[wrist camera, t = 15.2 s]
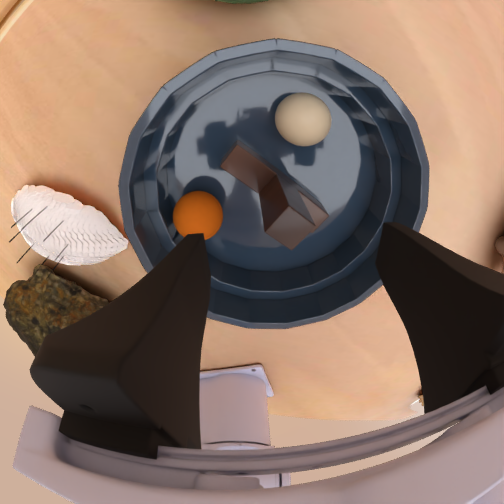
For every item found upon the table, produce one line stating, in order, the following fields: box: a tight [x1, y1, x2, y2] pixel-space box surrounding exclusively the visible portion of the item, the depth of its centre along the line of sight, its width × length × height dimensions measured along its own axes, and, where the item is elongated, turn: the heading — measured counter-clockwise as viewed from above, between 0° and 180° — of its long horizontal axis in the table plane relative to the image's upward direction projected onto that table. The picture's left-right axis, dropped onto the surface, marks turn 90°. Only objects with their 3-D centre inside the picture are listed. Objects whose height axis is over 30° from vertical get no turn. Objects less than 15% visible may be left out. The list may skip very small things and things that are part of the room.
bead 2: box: [275, 93, 332, 146], centre depth 13 cm, size 3×3×3 cm
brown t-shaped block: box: [220, 140, 329, 250], centre depth 14 cm, size 7×2×6 cm, turn 52°
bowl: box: [118, 38, 429, 329], centre depth 15 cm, size 16×16×5 cm
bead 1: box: [173, 191, 223, 240], centre depth 16 cm, size 3×3×3 cm
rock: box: [3, 264, 109, 357], centre depth 19 cm, size 12×9×8 cm
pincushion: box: [9, 185, 128, 282], centre depth 15 cm, size 12×6×6 cm, turn 67°
